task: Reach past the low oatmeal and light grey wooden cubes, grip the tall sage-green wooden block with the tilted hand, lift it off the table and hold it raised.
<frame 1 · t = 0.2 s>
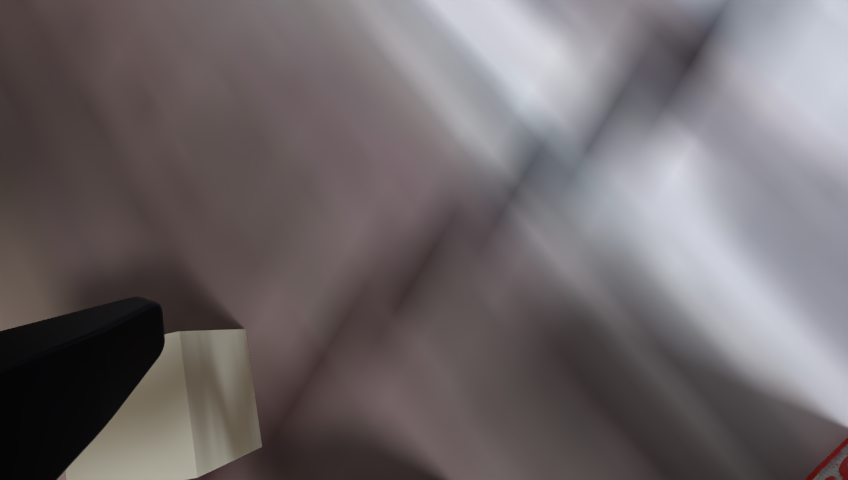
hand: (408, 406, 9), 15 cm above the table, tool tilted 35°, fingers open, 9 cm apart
oatmeal cube: (201, 397, 26), on the table
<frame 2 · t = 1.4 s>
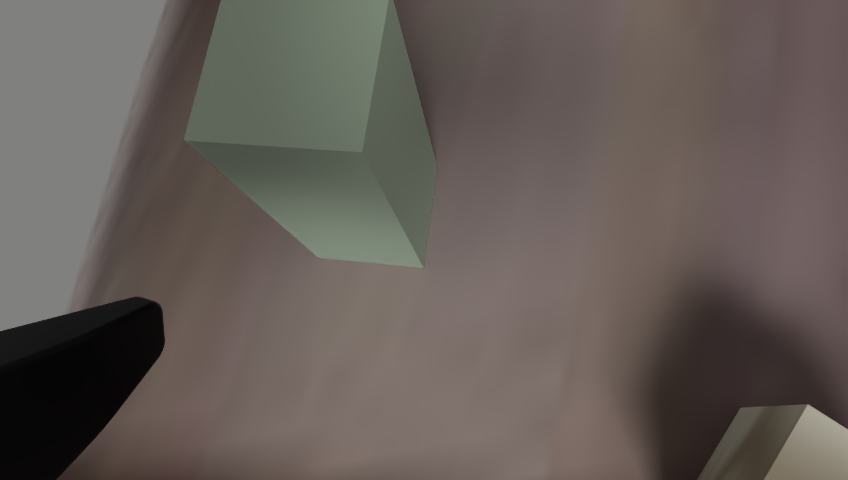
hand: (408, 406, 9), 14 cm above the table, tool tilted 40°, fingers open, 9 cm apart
sage green block: (378, 211, 25), on the table
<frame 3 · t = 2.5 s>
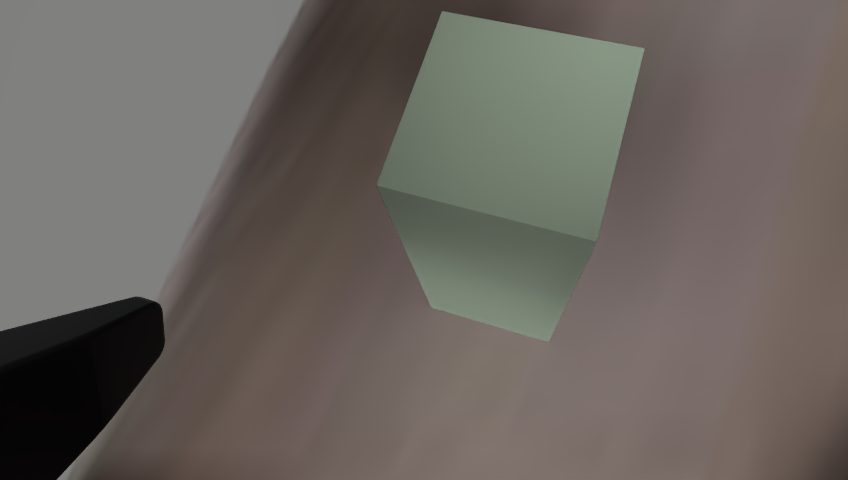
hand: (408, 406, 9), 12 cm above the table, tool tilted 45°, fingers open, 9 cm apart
sage green block: (504, 268, 23), on the table
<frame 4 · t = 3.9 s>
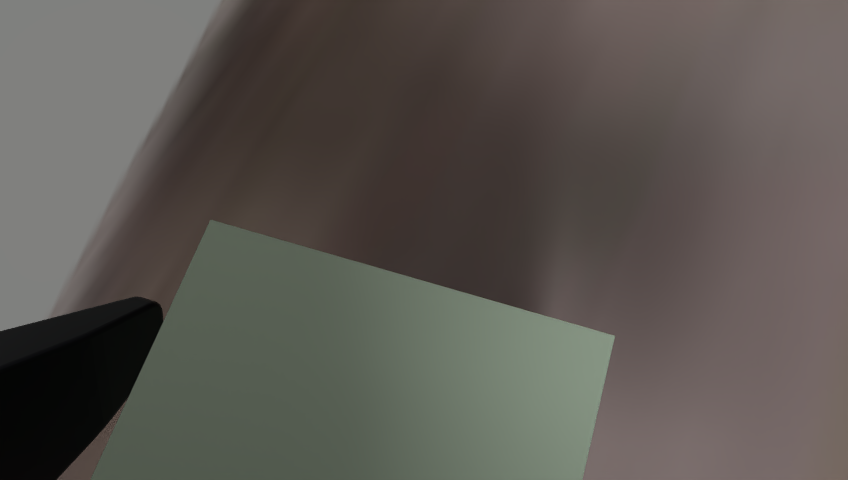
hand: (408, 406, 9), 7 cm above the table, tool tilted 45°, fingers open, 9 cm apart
sage green block: (434, 466, 16), on the table
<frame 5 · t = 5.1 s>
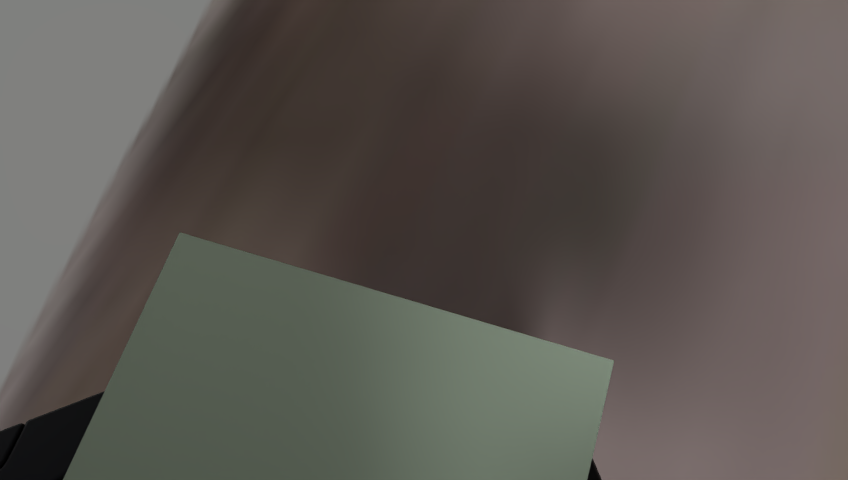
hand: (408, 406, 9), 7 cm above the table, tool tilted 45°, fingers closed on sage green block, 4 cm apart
sage green block: (429, 476, 15), on the table, touching gripper
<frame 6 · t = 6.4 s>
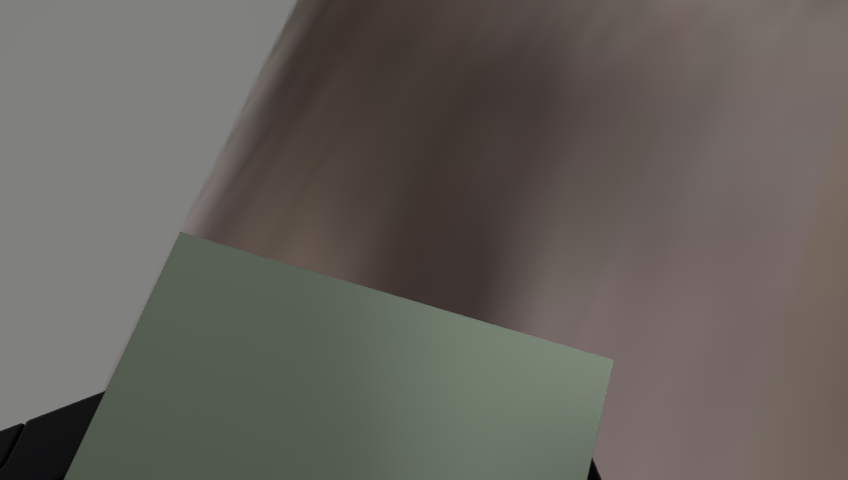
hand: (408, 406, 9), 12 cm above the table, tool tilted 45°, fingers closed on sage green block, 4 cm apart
sage green block: (429, 476, 15), point 5 cm above the table, touching gripper
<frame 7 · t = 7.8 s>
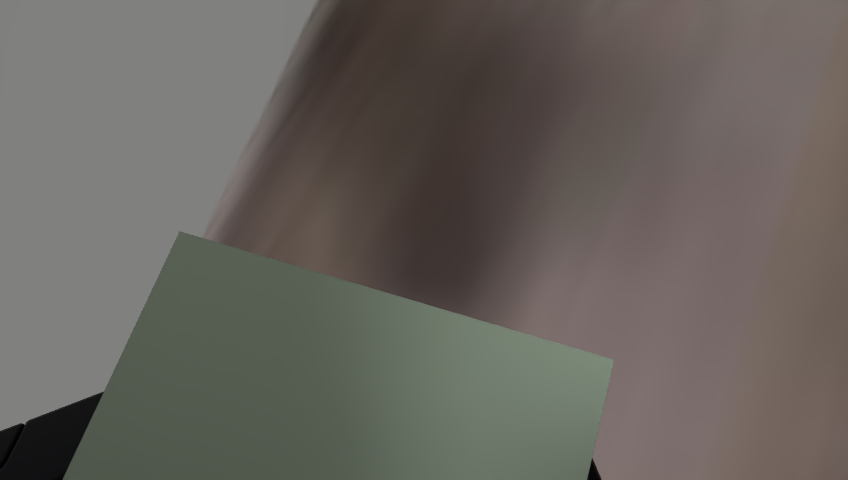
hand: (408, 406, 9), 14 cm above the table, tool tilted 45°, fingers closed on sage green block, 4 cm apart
sage green block: (429, 476, 15), point 6 cm above the table, touching gripper
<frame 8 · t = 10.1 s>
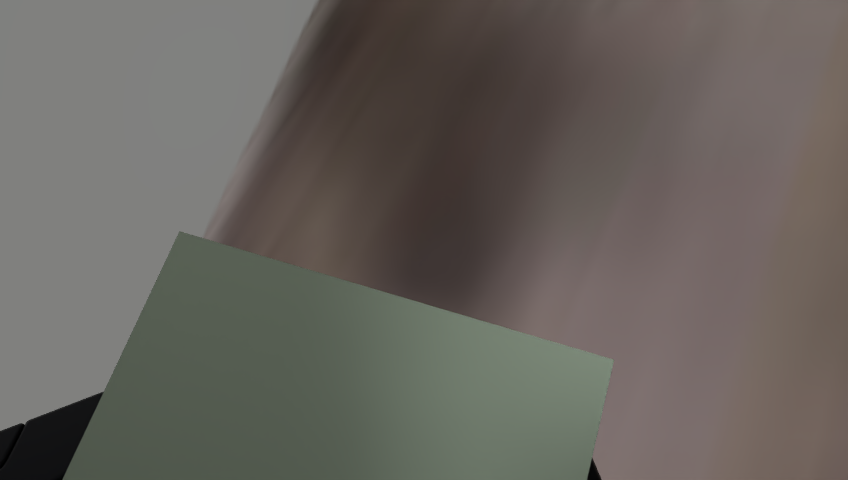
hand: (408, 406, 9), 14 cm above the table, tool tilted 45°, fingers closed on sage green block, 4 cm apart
sage green block: (429, 476, 15), point 6 cm above the table, touching gripper
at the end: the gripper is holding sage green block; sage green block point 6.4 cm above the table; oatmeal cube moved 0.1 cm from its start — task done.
